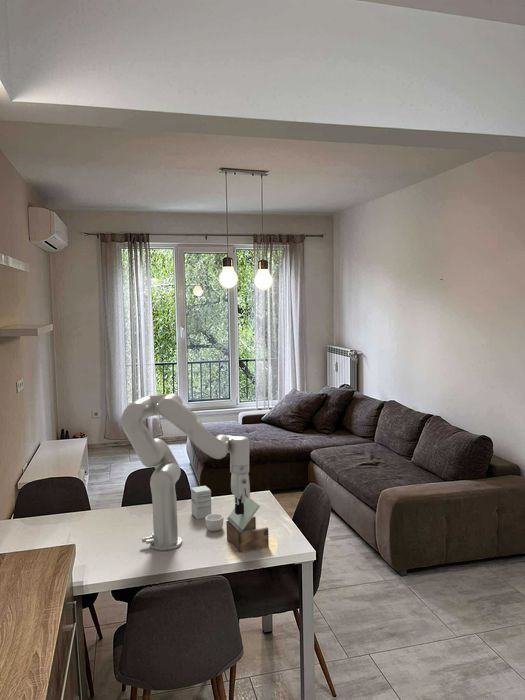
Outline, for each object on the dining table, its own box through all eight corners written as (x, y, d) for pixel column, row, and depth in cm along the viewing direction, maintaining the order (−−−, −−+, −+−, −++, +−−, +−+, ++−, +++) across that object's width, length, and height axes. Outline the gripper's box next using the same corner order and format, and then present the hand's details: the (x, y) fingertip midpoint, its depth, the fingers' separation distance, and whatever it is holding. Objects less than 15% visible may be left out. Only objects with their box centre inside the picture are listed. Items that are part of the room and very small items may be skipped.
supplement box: (191, 514, 253) (190, 487, 252) (206, 511, 256) (205, 485, 255) (196, 519, 246) (195, 492, 245) (212, 516, 249) (211, 489, 248)
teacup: (221, 533, 230) (221, 520, 230) (203, 532, 231) (203, 520, 231) (226, 524, 240) (225, 512, 240) (209, 523, 241) (208, 511, 241)
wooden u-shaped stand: (239, 553, 211) (238, 534, 210) (226, 538, 225) (226, 520, 224) (269, 547, 216) (268, 528, 215) (254, 533, 229) (254, 515, 229)
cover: (240, 533, 211) (239, 531, 211) (228, 520, 224) (226, 518, 224) (260, 506, 213) (258, 504, 213) (246, 495, 227) (245, 493, 226)
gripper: (255, 472, 210) (255, 519, 212) (242, 462, 224) (242, 506, 225) (236, 474, 207) (236, 521, 209) (224, 464, 221) (224, 508, 223)
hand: (239, 513), depth 217 cm, fingers closed
